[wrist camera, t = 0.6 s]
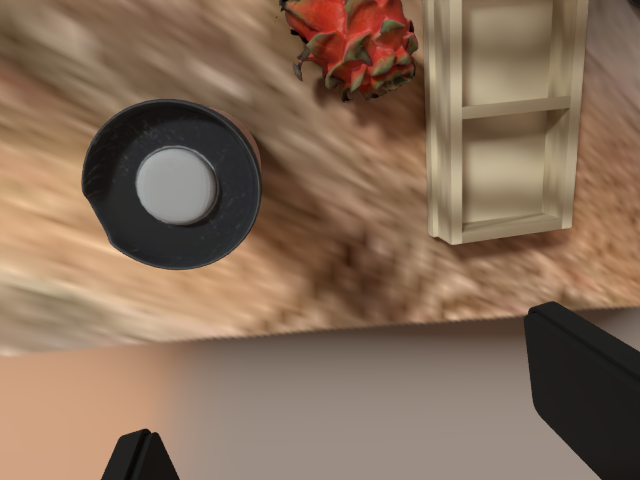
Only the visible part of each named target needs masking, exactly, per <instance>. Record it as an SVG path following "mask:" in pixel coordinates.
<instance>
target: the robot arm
mask: <svg viewBox="0 0 640 480" xmlns="http://www.w3.org/2000/svg"><path fill="white" fill-rule="evenodd" d="M524 328H525V336H526V345H527V354H528V363H529V371H530V380H531V389H532V398H533V403H534V407H535V409H536V411H537V412H538V414H539V415H540V416H541V418H542V419H543V420H544V421H545V422H546V423H547V424H548V425H549V426H550V427H551V428H552V429H553V430H554V431H555V432H556V433H557V434H558V435H559V436H560V437H561V438H562V439H563V440H564V441H565V442H566V443H567V444H568V445H569V447H570V448H571V449H572V450H573V451H574V452H575V453H576V454H577V455H578V456H579V457H580V458H581V459H582V460H583V461H584V462H585V463H586V464H587V465H588V466H589V467H590V468H591V469H592V470H593V471H594V472H595V473H596V474H597V475H598V476H599V477H600V479H602V480H640V352H639V351H637V350H636V349H634V348H632V347H631V346H629V345H627V344H625V343H624V342H622V341H621V340H619V339H617V338H616V337H614V336H612V335H610V334H609V333H607V332H606V331H604V330H602V329H600V328H599V327H597V326H595V325H594V324H592V323H590V322H589V321H587V320H585V319H584V318H582V317H580V316H579V315H577V314H575V313H574V312H572V311H570V310H568V309H567V308H565V307H563V306H562V305H560V304H558V303H556V302H554V301H551V302H547V303H544V304H541V305H538V306H535V307H531V308H530V309H529V311H528V315H526V316H525V317H524ZM101 480H180V479H179V477H178V475H177V473H176V471H175V468H174V466H173V464H172V462H171V460H170V457H169V455H168V453H167V451H166V449H165V447H164V444H163V442H162V440H161V438H160V436H159V434H158V433H156V432H154V433H151V432H150V431H149V430H148V429H142V430H139V431H136V432H133V433H129V434H126V435H123V436H121V437H120V438H119V440H118V442H117V444H116V446H115V449H114V451H113V453H112V456H111V458H110V460H109V462H108V465H107V467H106V469H105V472H104V474H103V476H102V479H101Z"/></svg>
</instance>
